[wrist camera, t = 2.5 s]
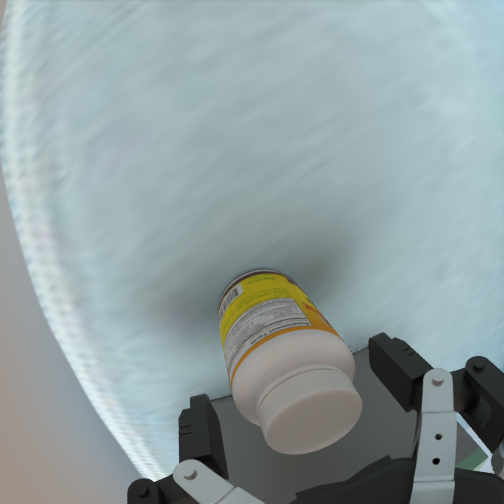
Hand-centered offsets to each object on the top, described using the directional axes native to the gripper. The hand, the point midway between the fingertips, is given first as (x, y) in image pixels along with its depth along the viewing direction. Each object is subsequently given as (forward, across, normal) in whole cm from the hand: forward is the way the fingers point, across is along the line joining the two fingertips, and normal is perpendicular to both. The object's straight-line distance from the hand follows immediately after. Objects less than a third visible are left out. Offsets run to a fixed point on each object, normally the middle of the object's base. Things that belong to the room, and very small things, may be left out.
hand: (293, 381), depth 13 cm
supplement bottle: (+7, 0, -1) cm, 7 cm away
